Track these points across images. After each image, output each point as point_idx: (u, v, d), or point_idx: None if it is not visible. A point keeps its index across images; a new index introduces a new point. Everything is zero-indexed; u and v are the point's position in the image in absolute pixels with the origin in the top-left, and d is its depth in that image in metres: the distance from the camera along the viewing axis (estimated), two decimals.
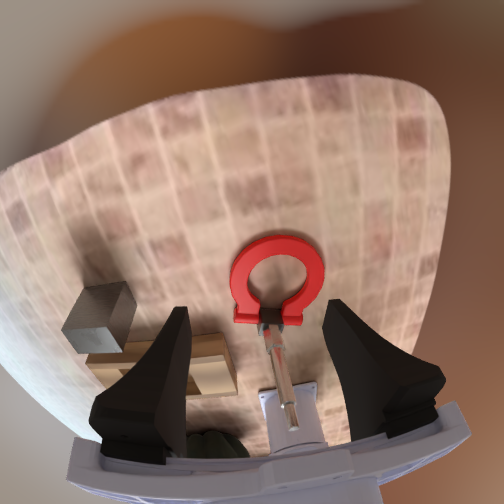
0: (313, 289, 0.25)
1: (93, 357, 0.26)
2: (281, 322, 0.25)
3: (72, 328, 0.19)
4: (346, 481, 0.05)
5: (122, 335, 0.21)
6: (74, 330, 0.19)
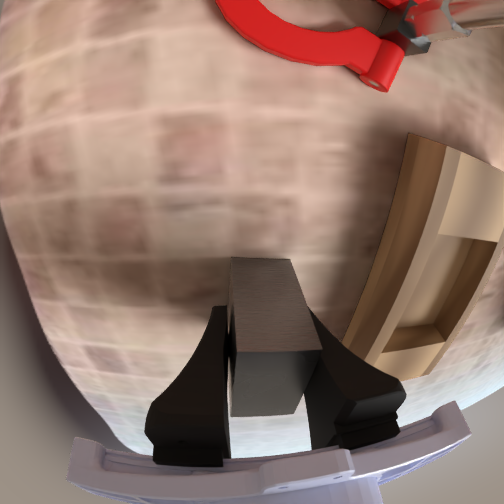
0: None
1: None
2: (406, 2, 0.06)
3: (231, 402, 0.11)
4: (346, 481, 0.05)
5: (295, 325, 0.10)
6: (235, 401, 0.11)
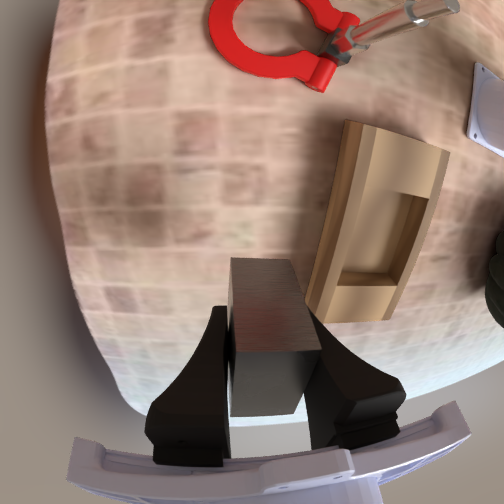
0: None
1: (312, 308, 0.23)
2: (335, 30, 0.12)
3: (230, 402, 0.11)
4: (346, 481, 0.05)
5: (295, 325, 0.10)
6: (234, 402, 0.11)
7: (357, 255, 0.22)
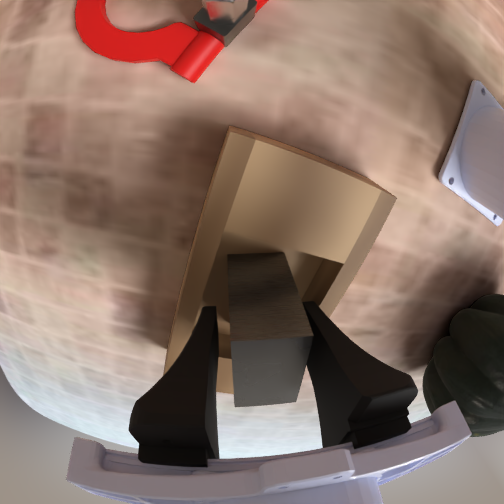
0: None
1: (165, 364, 0.17)
2: None
3: None
4: (346, 481, 0.05)
5: (287, 314, 0.11)
6: (236, 391, 0.11)
7: None
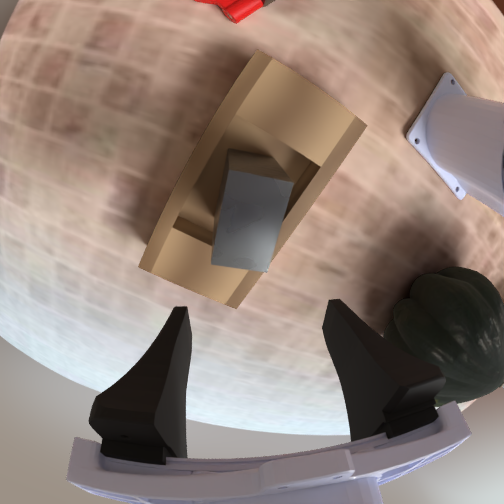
0: None
1: None
2: None
3: (214, 240, 0.14)
4: (346, 481, 0.05)
5: (273, 172, 0.14)
6: (217, 238, 0.14)
7: (215, 209, 0.19)
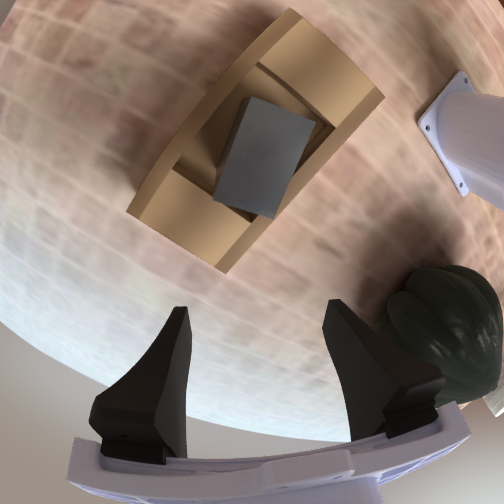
0: None
1: None
2: None
3: (221, 172, 0.12)
4: (346, 481, 0.05)
5: None
6: (226, 170, 0.12)
7: None
